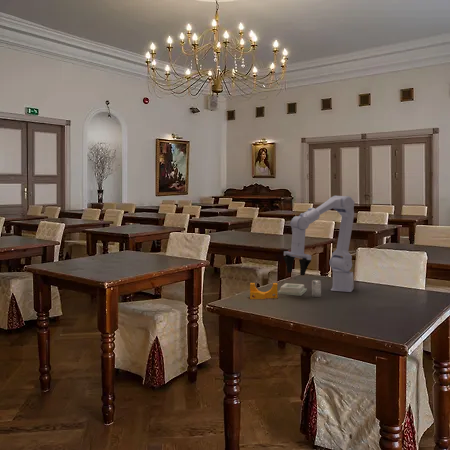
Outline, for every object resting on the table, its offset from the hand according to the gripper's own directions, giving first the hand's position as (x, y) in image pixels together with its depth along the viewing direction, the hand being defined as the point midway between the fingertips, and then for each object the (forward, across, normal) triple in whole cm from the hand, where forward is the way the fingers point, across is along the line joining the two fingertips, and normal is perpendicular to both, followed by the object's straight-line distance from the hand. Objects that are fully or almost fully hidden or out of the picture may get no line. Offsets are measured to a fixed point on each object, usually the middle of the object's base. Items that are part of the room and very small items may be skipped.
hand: (295, 273), depth 218 cm
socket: (+10, -7, +6) cm, 13 cm away
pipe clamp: (+12, -8, -11) cm, 18 cm away
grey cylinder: (+10, +6, +8) cm, 14 cm away
